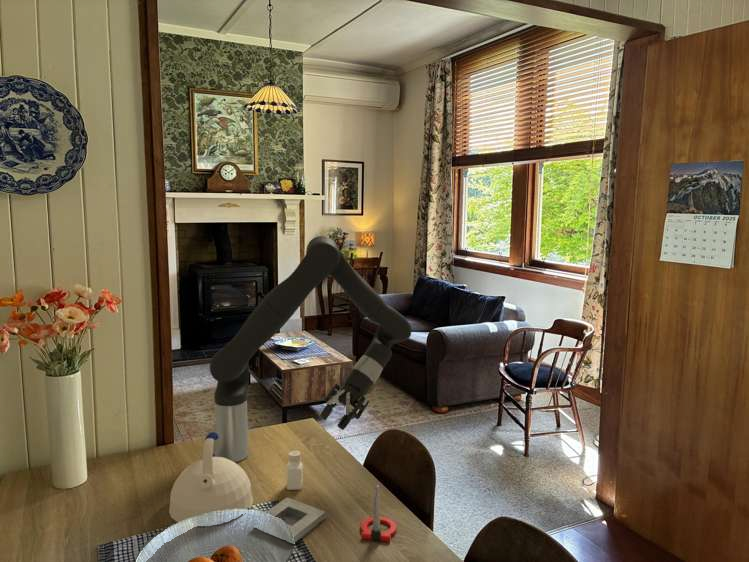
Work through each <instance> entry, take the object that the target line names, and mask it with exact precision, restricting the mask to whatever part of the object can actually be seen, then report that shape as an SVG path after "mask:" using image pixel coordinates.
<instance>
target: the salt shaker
mask: <svg viewBox="0 0 749 562" xmlns="http://www.w3.org/2000/svg"><path fill="white" fill-rule="evenodd" d="M301 455H302V453H301V451H300V450H292V451H289V452H288V463H287V464H286V488H287V489H286V490H288V491H291V490H292V491H294V490H295V491H297V490H302V488H303V482H304V481H303V478H304V476H303V473H304V472H303V462H301V460H302V458H301Z"/></svg>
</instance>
